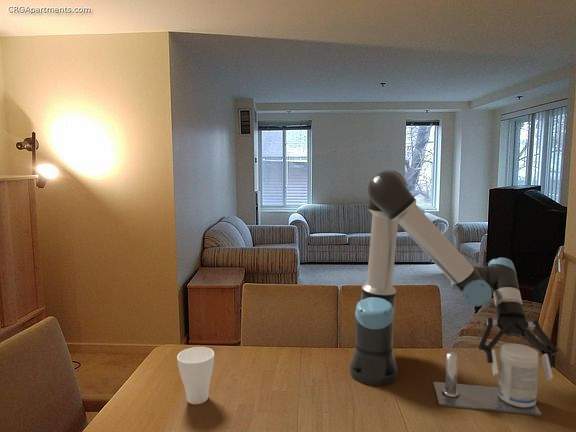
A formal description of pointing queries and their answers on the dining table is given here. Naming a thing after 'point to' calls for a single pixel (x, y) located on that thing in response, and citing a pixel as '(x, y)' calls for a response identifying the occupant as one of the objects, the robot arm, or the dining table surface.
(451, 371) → the steel pin
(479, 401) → the grey flat rectangular plate
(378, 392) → the dining table surface
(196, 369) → the cup
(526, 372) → the supplement tub
